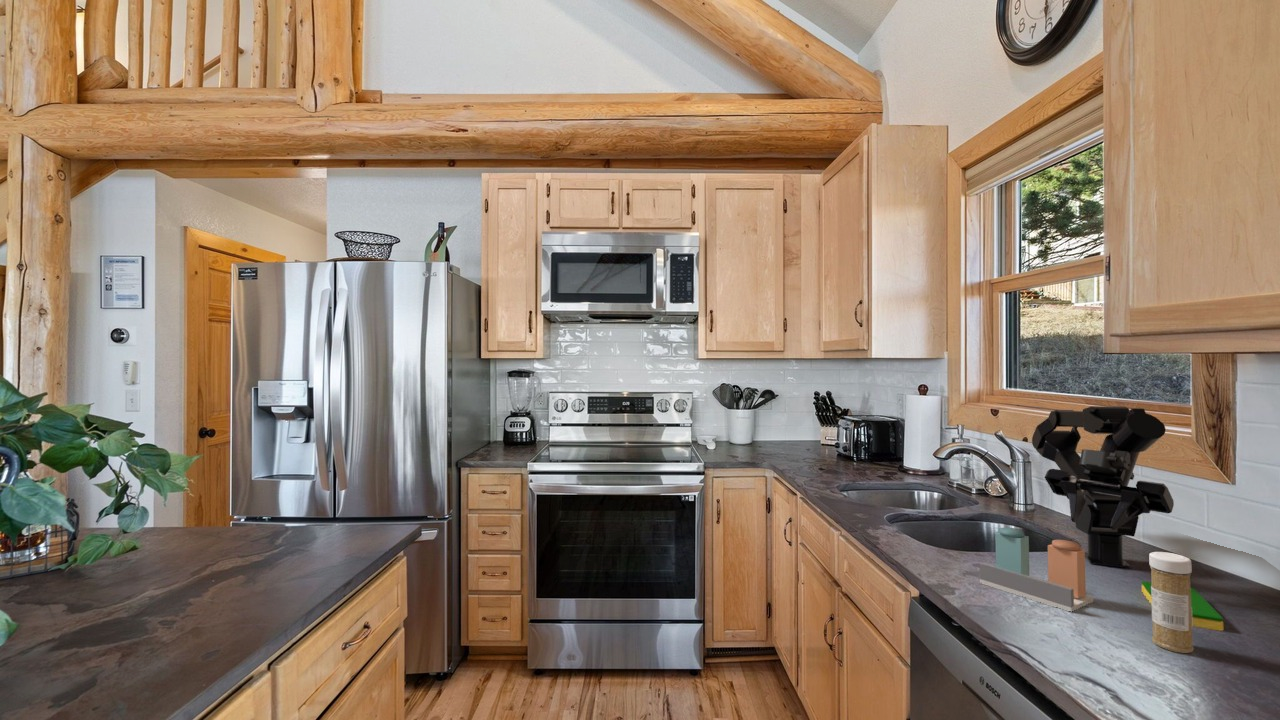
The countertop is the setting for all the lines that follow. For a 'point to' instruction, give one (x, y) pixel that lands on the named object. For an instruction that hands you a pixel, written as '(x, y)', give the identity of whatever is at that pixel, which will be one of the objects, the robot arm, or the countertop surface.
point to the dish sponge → (1195, 609)
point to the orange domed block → (1067, 566)
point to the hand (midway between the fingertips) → (1092, 524)
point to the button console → (1031, 587)
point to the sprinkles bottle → (1171, 601)
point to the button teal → (1012, 550)
